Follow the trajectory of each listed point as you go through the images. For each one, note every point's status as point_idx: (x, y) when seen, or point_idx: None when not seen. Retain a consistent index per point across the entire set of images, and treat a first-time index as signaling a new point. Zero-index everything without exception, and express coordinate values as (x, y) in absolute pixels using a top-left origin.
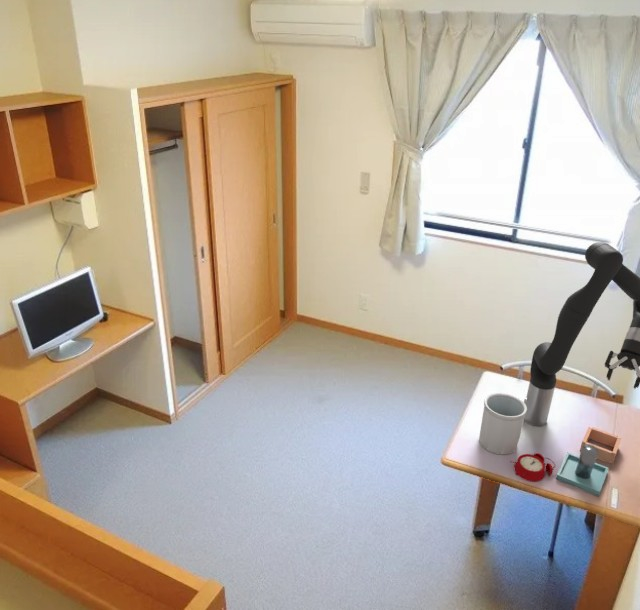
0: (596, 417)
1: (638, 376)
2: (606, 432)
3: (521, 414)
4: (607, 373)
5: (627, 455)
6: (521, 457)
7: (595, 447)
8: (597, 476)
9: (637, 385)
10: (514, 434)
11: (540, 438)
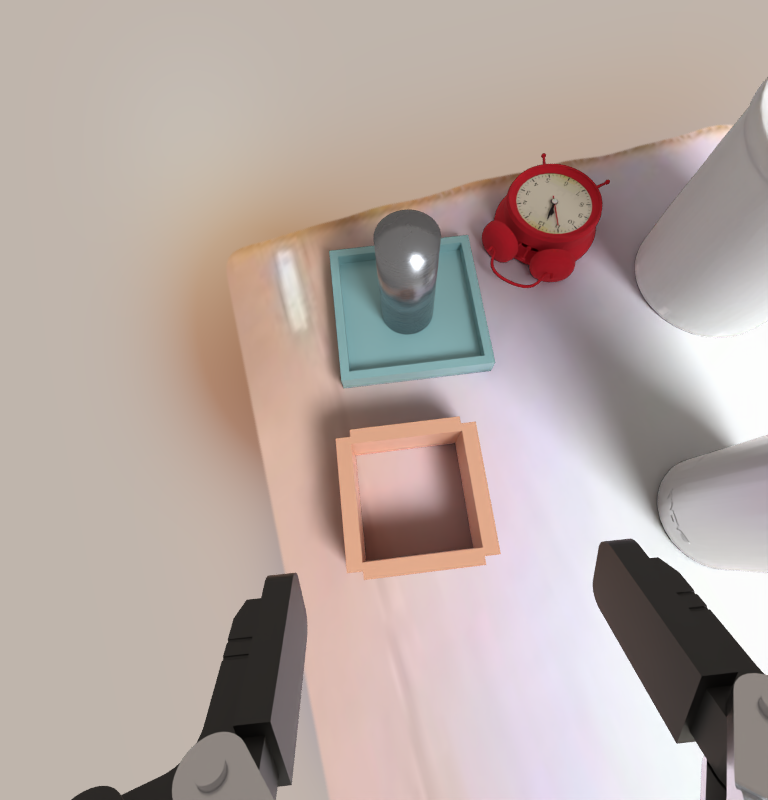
0: (516, 764)
1: (242, 746)
2: (417, 570)
3: (766, 108)
4: (699, 600)
5: (308, 545)
6: (595, 206)
7: (394, 261)
8: (362, 331)
9: (251, 612)
10: (689, 185)
11: (614, 403)
